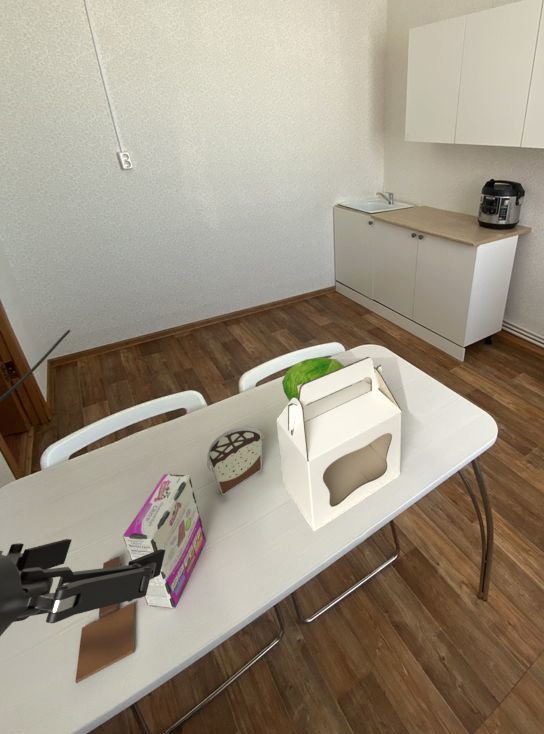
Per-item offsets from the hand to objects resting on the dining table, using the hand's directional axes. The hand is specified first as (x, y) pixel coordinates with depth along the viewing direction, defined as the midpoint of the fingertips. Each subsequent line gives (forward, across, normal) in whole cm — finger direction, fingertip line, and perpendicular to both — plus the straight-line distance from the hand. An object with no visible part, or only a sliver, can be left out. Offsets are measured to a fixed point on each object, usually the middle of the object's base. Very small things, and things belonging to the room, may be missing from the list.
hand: (112, 556), depth 51 cm
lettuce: (+51, +15, +25) cm, 59 cm away
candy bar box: (+20, 0, -6) cm, 21 cm away
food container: (+34, +2, +8) cm, 35 cm away
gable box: (+35, +26, +9) cm, 44 cm away
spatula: (+16, -8, -10) cm, 20 cm away
